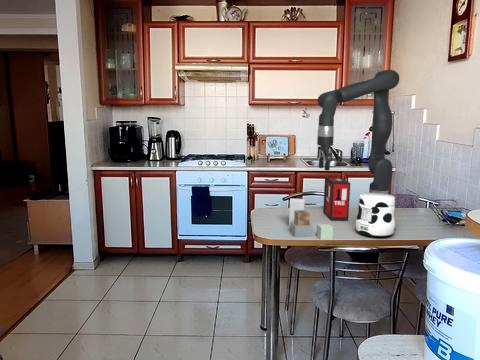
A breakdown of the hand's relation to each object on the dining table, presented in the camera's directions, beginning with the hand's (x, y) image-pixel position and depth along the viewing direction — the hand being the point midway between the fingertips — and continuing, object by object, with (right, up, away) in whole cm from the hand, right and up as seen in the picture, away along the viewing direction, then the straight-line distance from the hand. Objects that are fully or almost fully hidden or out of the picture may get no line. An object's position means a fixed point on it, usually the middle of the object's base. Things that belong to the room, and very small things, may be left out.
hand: (323, 169), depth 191 cm
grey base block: (-12, -30, -10) cm, 34 cm away
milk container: (+22, -30, -8) cm, 38 cm away
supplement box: (-12, -28, +5) cm, 31 cm away
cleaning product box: (+11, -25, +21) cm, 35 cm away
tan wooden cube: (-12, -25, -11) cm, 30 cm away
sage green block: (-3, -31, -14) cm, 34 cm away
